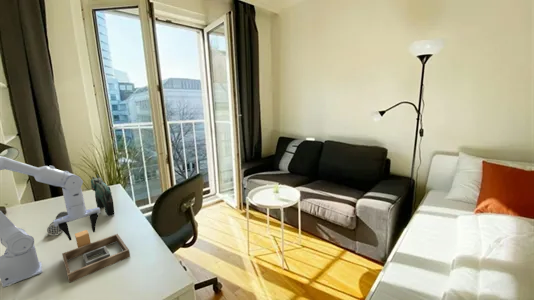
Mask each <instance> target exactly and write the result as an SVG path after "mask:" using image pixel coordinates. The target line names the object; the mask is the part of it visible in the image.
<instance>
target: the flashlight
mask: <svg viewBox="0 0 534 300" xmlns="http://www.w3.org/2000/svg"><path fill="white" fill-rule="evenodd" d="M67 215H68V213H67V211H61V212H59V213H57V215H56V216H55V219H54V220H56V219H59V218H61V217H64V216H67ZM46 232H47V234H49V235H51V236H56V235H61V233H62V232H63V231H62V230H61V229H60V228H59V225H58V226H54V222H53V221H52V222H51V223H50V224H49V225H48V226H47V227H46Z"/></svg>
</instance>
